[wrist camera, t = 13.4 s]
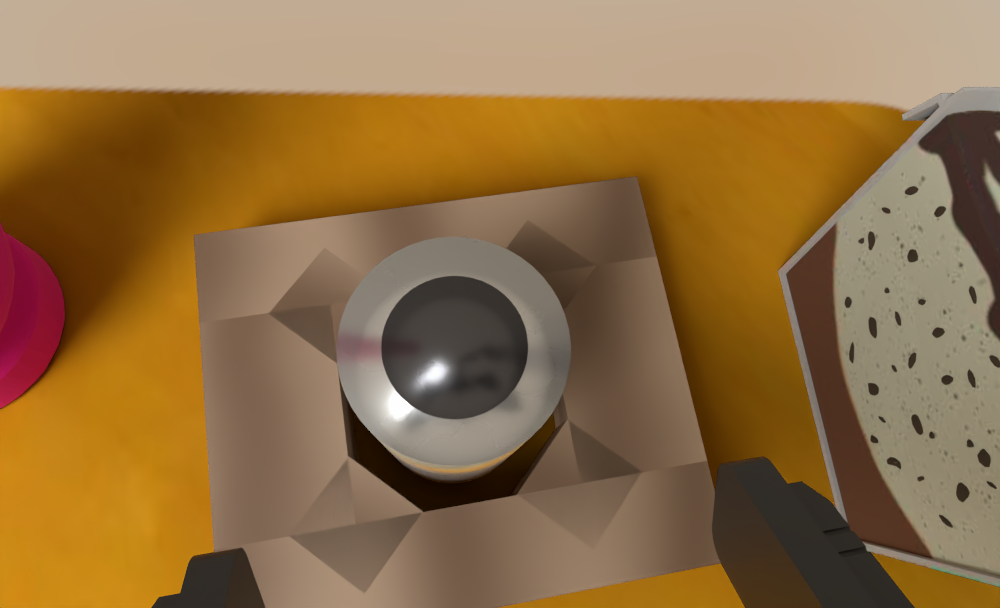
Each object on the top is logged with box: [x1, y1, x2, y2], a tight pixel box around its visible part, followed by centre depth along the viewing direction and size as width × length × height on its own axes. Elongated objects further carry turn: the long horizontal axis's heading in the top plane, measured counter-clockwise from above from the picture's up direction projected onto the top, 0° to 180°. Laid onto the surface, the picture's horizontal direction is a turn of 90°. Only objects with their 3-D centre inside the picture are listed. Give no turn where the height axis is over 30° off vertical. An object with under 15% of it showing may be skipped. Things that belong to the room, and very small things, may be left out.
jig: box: [194, 176, 721, 608], centre depth 22 cm, size 14×12×2 cm
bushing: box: [336, 237, 571, 483], centre depth 19 cm, size 5×5×9 cm
